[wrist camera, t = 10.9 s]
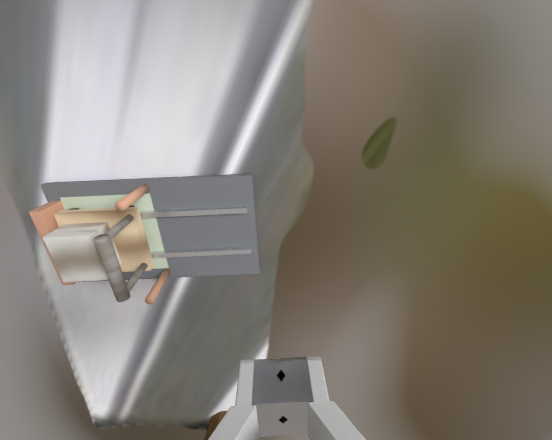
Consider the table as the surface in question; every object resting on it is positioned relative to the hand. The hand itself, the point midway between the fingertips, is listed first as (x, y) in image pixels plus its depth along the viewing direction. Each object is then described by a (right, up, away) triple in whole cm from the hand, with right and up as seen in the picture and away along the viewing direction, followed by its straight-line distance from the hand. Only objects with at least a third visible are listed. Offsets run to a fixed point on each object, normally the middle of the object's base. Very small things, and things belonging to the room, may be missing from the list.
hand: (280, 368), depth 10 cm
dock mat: (-18, +4, +32) cm, 37 cm away
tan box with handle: (-25, +3, +31) cm, 40 cm away
